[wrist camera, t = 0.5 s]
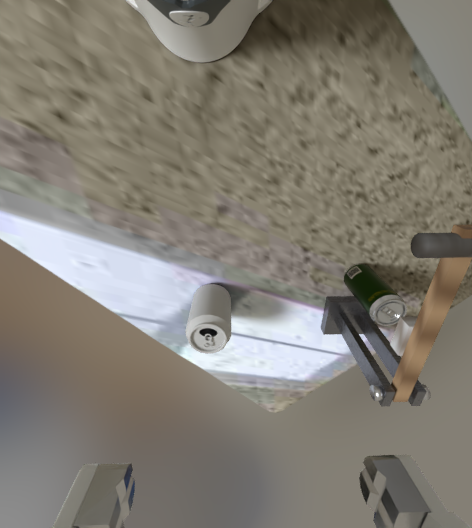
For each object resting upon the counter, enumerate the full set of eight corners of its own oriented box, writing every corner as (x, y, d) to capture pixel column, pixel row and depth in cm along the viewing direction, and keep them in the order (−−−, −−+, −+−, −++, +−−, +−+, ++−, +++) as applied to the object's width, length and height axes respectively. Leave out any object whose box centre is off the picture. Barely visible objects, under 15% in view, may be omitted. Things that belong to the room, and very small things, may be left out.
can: (232, 283, 51) (233, 323, 40) (229, 314, 54) (229, 358, 43) (194, 280, 50) (184, 319, 40) (192, 311, 54) (183, 356, 43)
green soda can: (336, 278, 51) (365, 317, 40) (357, 257, 49) (392, 292, 38) (355, 291, 52) (388, 332, 42) (376, 271, 50) (416, 309, 40)
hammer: (409, 219, 29) (434, 231, 25) (488, 219, 29) (525, 231, 26) (358, 381, 41) (371, 405, 37) (415, 380, 41) (433, 404, 37)
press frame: (326, 296, 53) (375, 379, 35) (375, 296, 53) (449, 378, 35) (320, 327, 56) (362, 417, 39) (366, 327, 56) (429, 416, 39)
